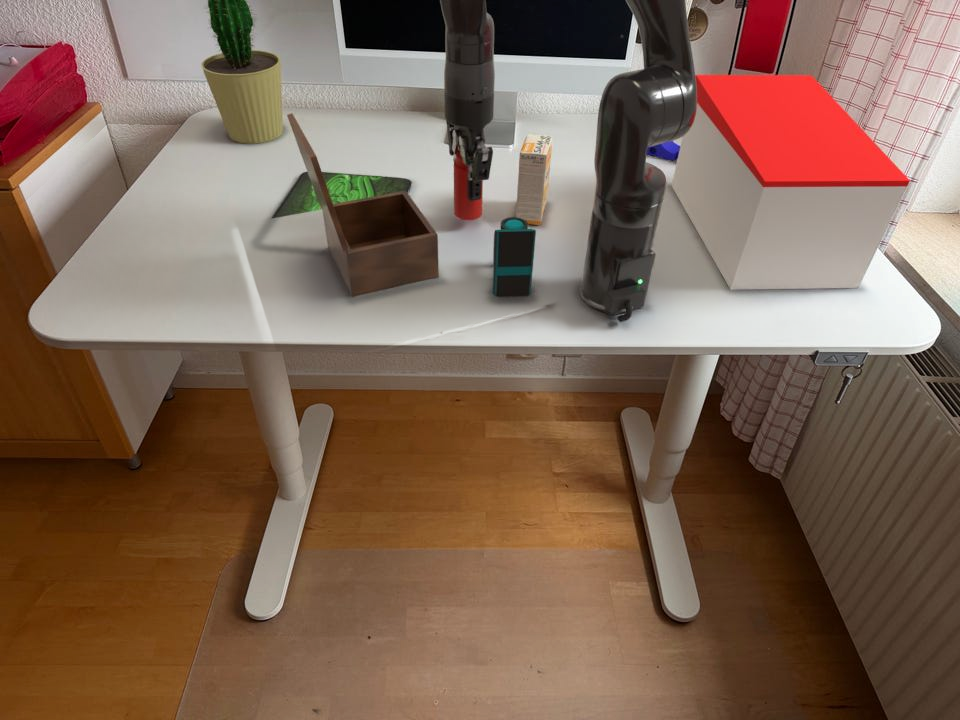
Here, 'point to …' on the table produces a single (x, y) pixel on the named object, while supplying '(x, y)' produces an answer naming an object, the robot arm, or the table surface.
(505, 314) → the table surface
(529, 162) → the supplement box
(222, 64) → the potted cactus
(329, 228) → the chest
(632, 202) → the robot arm
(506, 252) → the black and teal battery
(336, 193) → the mouse mat
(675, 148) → the cable clip
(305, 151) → the chest lid
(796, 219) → the red-topped white box
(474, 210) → the ketchup bottle
